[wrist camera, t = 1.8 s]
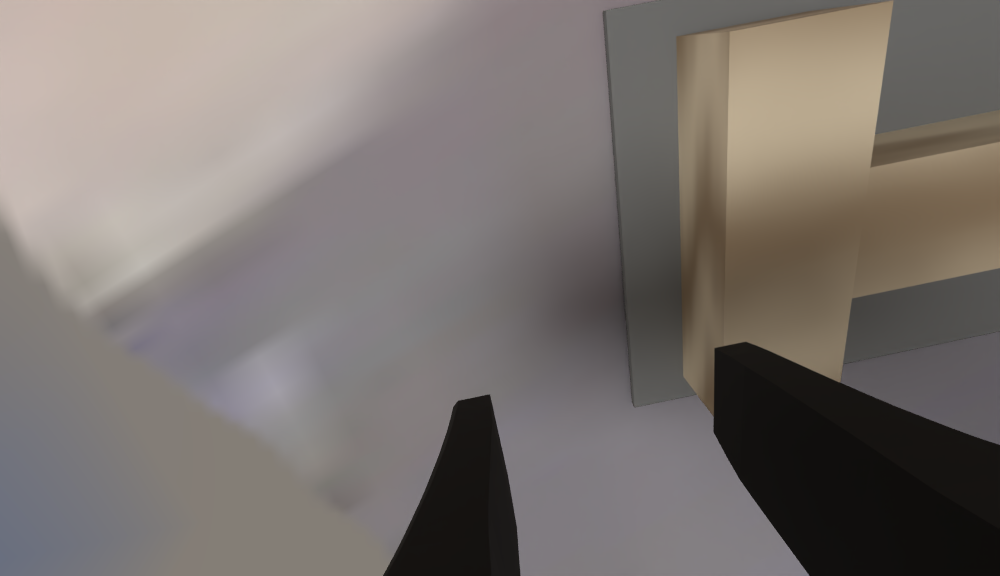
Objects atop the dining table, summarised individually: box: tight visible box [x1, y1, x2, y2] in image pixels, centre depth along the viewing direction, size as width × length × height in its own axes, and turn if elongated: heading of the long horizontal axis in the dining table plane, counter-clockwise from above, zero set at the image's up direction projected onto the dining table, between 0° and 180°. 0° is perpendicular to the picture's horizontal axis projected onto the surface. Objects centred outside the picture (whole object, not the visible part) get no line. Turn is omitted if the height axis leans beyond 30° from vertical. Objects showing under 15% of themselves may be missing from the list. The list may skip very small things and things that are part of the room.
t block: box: [676, 0, 1000, 416], centre depth 16 cm, size 12×12×3 cm
